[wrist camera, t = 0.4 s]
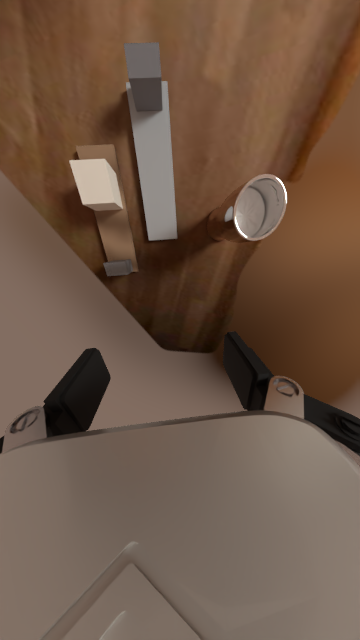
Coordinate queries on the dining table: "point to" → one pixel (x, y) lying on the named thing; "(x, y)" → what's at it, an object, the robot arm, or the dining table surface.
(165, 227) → the grey strip
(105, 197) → the cream block
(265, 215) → the beer glass
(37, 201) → the dining table surface
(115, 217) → the brown long piece
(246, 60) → the dining table surface
